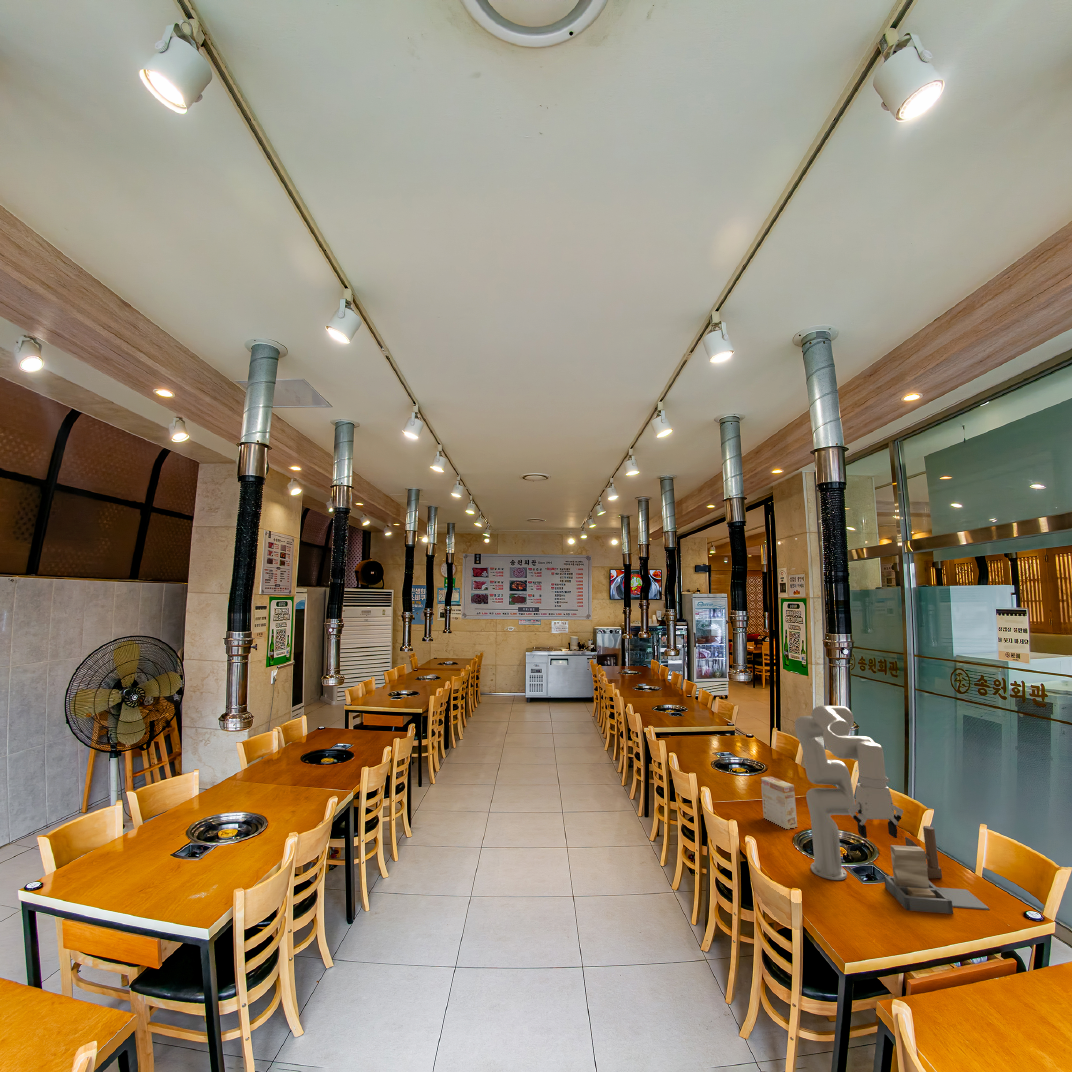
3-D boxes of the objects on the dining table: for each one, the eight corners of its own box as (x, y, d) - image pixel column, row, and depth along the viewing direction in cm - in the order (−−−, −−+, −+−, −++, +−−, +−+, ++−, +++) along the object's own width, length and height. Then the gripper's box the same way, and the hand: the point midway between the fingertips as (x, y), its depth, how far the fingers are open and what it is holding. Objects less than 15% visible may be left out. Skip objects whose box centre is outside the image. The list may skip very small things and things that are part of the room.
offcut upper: (908, 894, 183) (907, 887, 183) (929, 896, 182) (928, 888, 182) (914, 901, 179) (913, 893, 179) (936, 902, 178) (935, 895, 178)
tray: (885, 887, 192) (884, 875, 192) (928, 890, 189) (926, 878, 190) (906, 910, 177) (905, 897, 178) (953, 913, 175) (951, 901, 175)
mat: (927, 888, 191) (927, 886, 191) (966, 890, 188) (966, 889, 188) (947, 906, 179) (947, 905, 179) (989, 909, 177) (989, 908, 177)
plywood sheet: (895, 891, 189) (890, 845, 191) (924, 893, 187) (919, 846, 190) (900, 896, 186) (895, 849, 188) (930, 898, 184) (925, 851, 186)
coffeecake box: (798, 827, 244) (794, 785, 246) (786, 830, 241) (783, 786, 244) (774, 816, 258) (771, 775, 260) (763, 818, 255) (760, 777, 258)
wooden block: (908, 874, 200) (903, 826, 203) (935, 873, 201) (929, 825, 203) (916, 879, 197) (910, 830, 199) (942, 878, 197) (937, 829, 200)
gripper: (891, 777, 172) (897, 831, 170) (840, 777, 173) (844, 831, 170) (907, 785, 165) (912, 841, 162) (853, 785, 165) (858, 841, 163)
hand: (878, 836), depth 166 cm, fingers open, 9 cm apart
